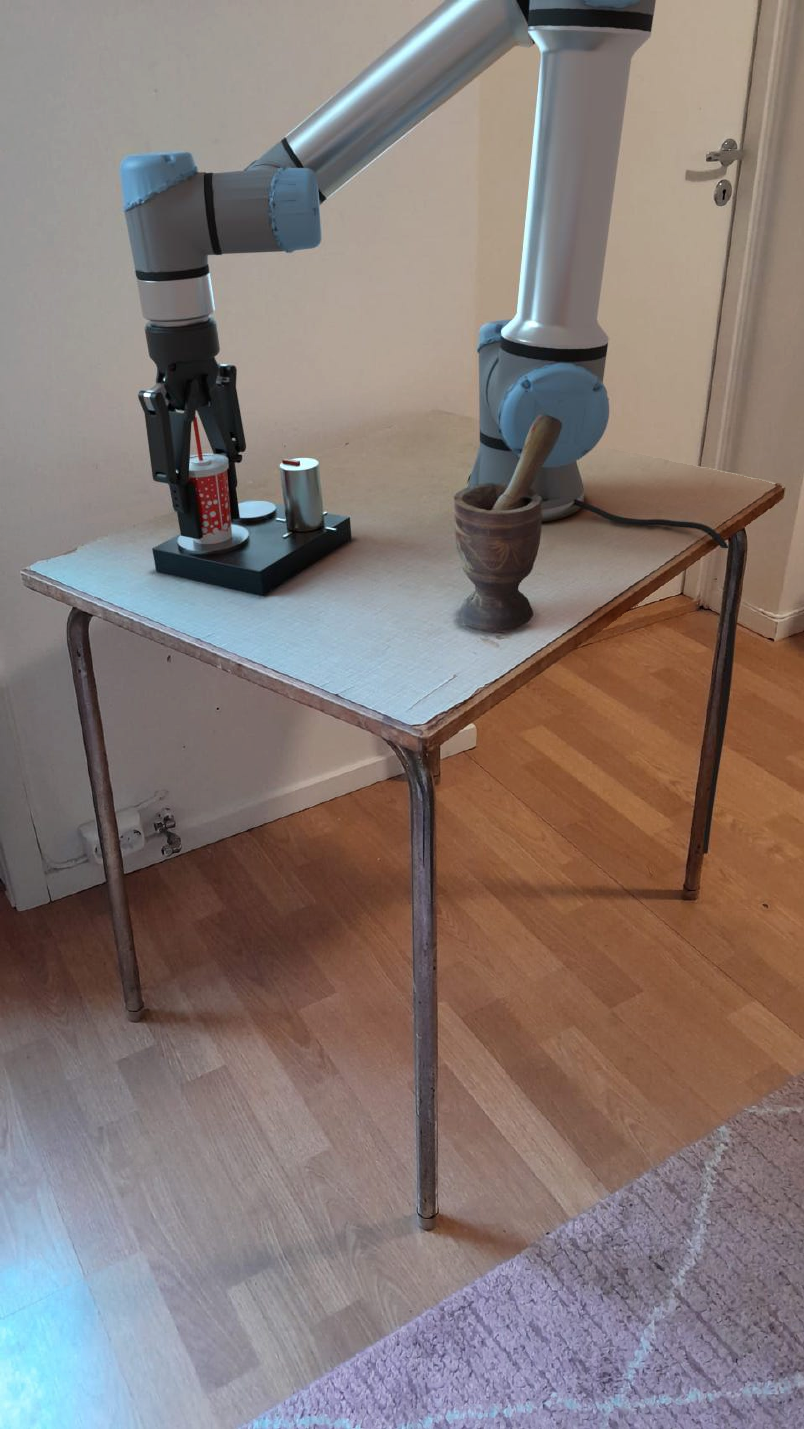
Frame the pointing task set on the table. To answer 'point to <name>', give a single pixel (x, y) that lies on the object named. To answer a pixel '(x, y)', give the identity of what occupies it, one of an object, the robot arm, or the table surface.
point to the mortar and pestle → (503, 536)
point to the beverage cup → (211, 493)
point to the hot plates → (240, 535)
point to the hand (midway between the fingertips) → (210, 526)
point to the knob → (302, 494)
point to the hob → (258, 554)
